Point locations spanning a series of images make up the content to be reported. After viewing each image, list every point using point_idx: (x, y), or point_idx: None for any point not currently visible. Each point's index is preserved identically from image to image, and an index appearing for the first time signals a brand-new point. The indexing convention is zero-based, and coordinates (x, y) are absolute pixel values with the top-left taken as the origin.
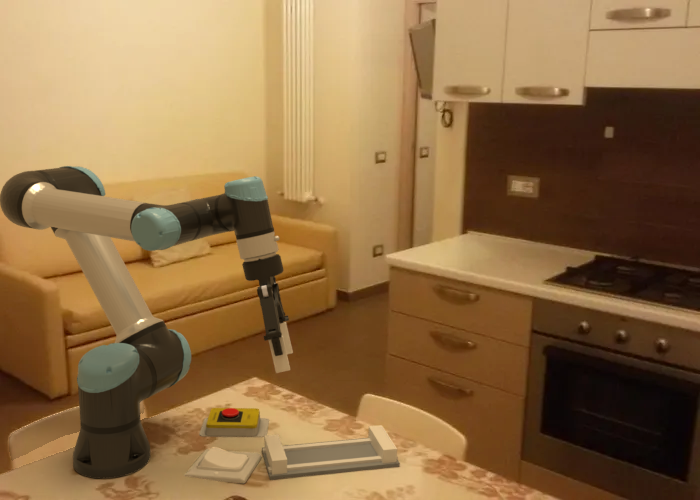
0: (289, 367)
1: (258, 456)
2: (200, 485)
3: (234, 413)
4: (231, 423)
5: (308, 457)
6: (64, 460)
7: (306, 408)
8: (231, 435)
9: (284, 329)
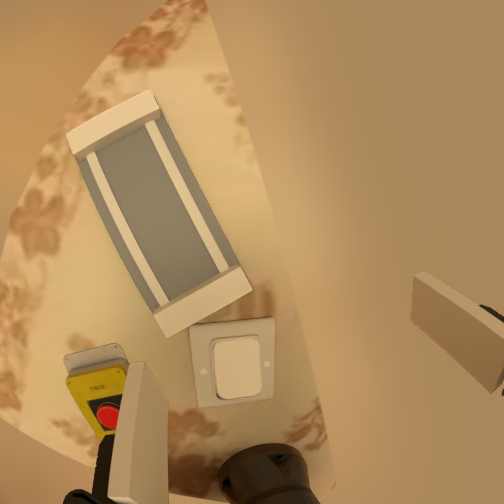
0: (430, 275)
1: (198, 328)
2: (290, 368)
3: (114, 410)
4: None
5: (173, 244)
6: None
7: (8, 305)
8: None
9: (139, 470)
